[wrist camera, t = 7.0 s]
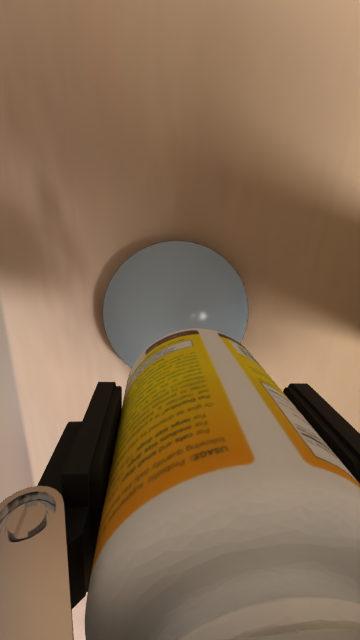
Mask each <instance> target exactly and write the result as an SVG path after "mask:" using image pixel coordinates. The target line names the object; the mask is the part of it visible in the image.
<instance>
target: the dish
mask: <svg viewBox="0 0 360 640" xmlns="http://www.w3.org/2000/svg"><path fill="white" fill-rule="evenodd" d="M103 321H104V327H105V331H106V334H107V337H108V340H109V342H110V344H111V346H112V347H113V349H114V351H115V352H116V353H117V355H118V356H119V357H120V358H121V359H122V360H123V361H124V363H126V364H127V365H128V366H129V367H131V368H132V367H133V365H134V363H135V362H136V360H137V359H138V357H139V356H140V355H141V353H142V352H143V351H144V350H145V349H146V348H147V347H148V346H149V345H151V344H152V343H153V342H155V341H156V340H158V339H160V338H161V337H163V336H165V335H167V334H170V333H173V332H176V331H179V330H184V329H193V328H200V329H209V330H214V331H217V332H220V333H223V334H225V335H227V336H229V337H231V338H233V339H234V340H236V341H237V342H239V343H240V342H241V340H242V338H243V336H244V333H245V330H246V326H247V321H248V300H247V295H246V291H245V288H244V285H243V283H242V281H241V279H240V277H239V275H238V274H237V272H236V271H235V269H234V268H233V267H232V266H231V265H230V263H229V262H228V261H227V260H226V259H224V258H223V257H222V256H221V255H219V254H218V253H216V252H215V251H213V250H211V249H209V248H207V247H205V246H202V245H199V244H196V243H192V242H185V241H168V242H161V243H157V244H154V245H151V246H149V247H146V248H144V249H142V250H140V251H139V252H137V253H135V254H134V255H132V256H131V257H130V258H129V259H128V260H126V261H125V262H124V263H123V264H122V265H121V267H120V268H119V269H118V270H117V272H116V273H115V274H114V276H113V277H112V279H111V281H110V283H109V285H108V288H107V291H106V294H105V298H104V304H103Z"/></svg>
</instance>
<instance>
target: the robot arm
mask: <svg viewBox="0 0 360 640" xmlns="http://www.w3.org/2000/svg"><path fill="white" fill-rule="evenodd" d="M283 393H284V394H285V395H286V397H287V398H288V399H289V400H290V401H291V403H292V404H293V405H294V406H295V407H296V409H297V410H298V411H299V412H300V413H301V414H302V415H303V417H304V418H305V419H306V421H307V422H308V423H309V424H310V425H311V426H312V428H313V429H314V430H315V431H316V432H317V434H318V435H319V436H320V437H321V438H322V440H323V441H324V442H325V443H326V444H327V446H328V447H329V448H330V449H331V450H332V452H333V453H334V454H335V455H336V456H337V457H338V458H339V460H340V461H341V462H342V463H343V465H344V466H345V467H346V468H347V469H348V471H349V472H350V473H351V474H352V475H353V477H354V478H355V479H356V480H357V481H358V483H359V484H360V434H359V433H358V432H357V431H356V430H355V429H354V428H353V427H352V426H351V425H350V424H349V423H348V422H347V421H346V420H345V419H344V418H343V417H342V416H341V415H340V414H339V413H338V412H336V411H335V410H334V409H333V408H332V407H331V406H330V405H329V404H328V403H327V402H326V401H325V400H324V399H323V398H322V397H321V396H320V395H319V394H318V393H317V392H316V391H315V390H313V389H312V388H311V387H310V386H309V385H308V384H289V386H288V388H285V389H284V391H283ZM121 411H122V389H121V386H116V383H115V382H98V384H97V387H96V389H95V391H94V394H93V396H92V399H91V401H90V404H89V406H88V409H87V411H86V414H85V416H84V419H83V421H82V422H69V423H68V424H67V426H66V428H65V430H64V432H63V434H62V436H61V438H60V440H59V442H58V444H57V446H56V448H55V450H54V452H53V455H52V457H51V459H50V461H49V463H48V465H47V467H46V469H45V471H44V473H43V475H42V477H41V479H40V481H39V484H38V486H34V487H28V488H26V489H23V490H21V491H18V492H16V493H14V494H13V495H11V496H9V497H7V498H6V499H5V500H4V501H3V502H1V503H0V640H74V636H73V621H72V609H73V608H74V607H75V606H76V605H77V604H78V603H79V602H80V601H81V600H82V599H83V598H84V597H85V595H86V592H88V589H89V582H90V576H91V570H92V565H93V560H94V555H95V549H96V544H97V539H98V533H99V528H100V523H101V517H102V512H103V506H104V501H105V496H106V490H107V486H108V480H109V474H110V469H111V465H112V458H113V453H114V448H115V442H116V437H117V432H118V427H119V422H120V416H121ZM225 640H360V629H356V630H342V631H329V632H316V633H302V634H289V635H276V636H263V637H250V638H237V639H225Z"/></svg>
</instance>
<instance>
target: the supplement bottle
mask: <svg viewBox="0 0 360 640" xmlns="http://www.w3.org/2000/svg"><path fill="white" fill-rule="evenodd" d="M356 629H360V484H359V483H358V481H357V480H356V479H355V478H354V477H353V475H352V474H351V473H350V472H349V471H348V469H347V468H346V467H345V466H344V465H343V463H342V462H341V461H340V460H339V458H338V457H337V456H336V455H335V454H334V453H333V452H332V450H331V449H330V448H329V447H328V446H327V444H326V443H325V442H324V441H323V440H322V438H321V437H320V436H319V435H318V434H317V432H316V431H315V430H314V429H313V428H312V426H311V425H310V424H309V423H308V422H307V421H306V419H305V418H304V417H303V415H302V414H301V413H300V412H299V411H298V410H297V409H296V407H295V406H294V405H293V404H292V403H291V401H290V400H289V399H288V398H287V397H286V395H285V394H284V393H283V392H282V390H281V389H280V388H279V387H278V386H277V385H276V384H275V382H274V381H273V380H272V379H271V378H270V376H269V375H268V374H267V373H266V372H265V370H264V369H263V368H262V367H261V366H260V365H259V363H258V362H257V361H256V360H255V359H254V358H253V357H252V355H251V354H250V353H249V352H248V351H247V350H246V349H245V348H244V347H243V346H242V345H241V344H240V343H239V342H237V341H236V340H234V339H233V338H231V337H229V336H227V335H225V334H223V333H220V332H217V331H214V330H209V329H200V328H193V329H184V330H179V331H176V332H173V333H170V334H167V335H165V336H163V337H161V338H160V339H158V340H156V341H155V342H153V343H152V344H151V345H149V346H148V347H147V348H146V349H145V350H144V351H143V352H142V353H141V355H140V356H139V357H138V359H137V360H136V362H135V363H134V365H133V367H132V369H131V371H130V374H129V377H128V381H127V385H126V390H125V395H124V400H123V406H122V411H121V416H120V422H119V427H118V432H117V437H116V442H115V448H114V453H113V458H112V465H111V469H110V474H109V480H108V486H107V490H106V496H105V501H104V506H103V512H102V517H101V523H100V528H99V533H98V539H97V544H96V549H95V555H94V560H93V565H92V570H91V576H90V582H89V589H88V596H87V603H86V612H85V635H86V640H225V639H237V638H250V637H263V636H276V635H289V634H302V633H316V632H329V631H342V630H356Z"/></svg>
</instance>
